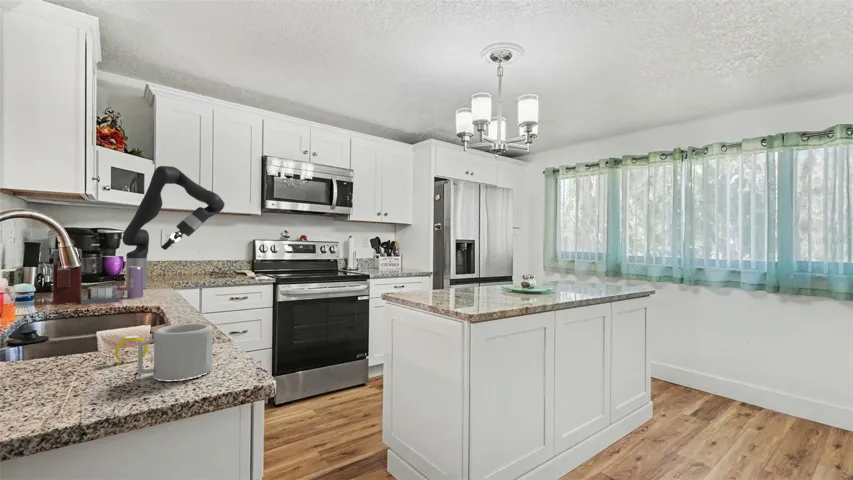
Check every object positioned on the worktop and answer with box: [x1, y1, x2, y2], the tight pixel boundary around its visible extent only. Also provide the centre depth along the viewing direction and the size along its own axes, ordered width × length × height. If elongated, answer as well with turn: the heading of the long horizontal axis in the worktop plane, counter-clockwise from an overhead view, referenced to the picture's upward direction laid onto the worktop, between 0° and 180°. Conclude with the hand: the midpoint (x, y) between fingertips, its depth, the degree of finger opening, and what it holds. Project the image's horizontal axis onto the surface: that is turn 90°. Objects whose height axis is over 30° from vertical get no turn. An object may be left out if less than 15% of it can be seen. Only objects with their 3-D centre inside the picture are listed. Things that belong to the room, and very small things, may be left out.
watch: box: [114, 335, 148, 362], centre depth 92 cm, size 6×3×6 cm, turn 139°
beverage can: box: [126, 266, 144, 300], centre depth 187 cm, size 6×6×15 cm
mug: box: [137, 322, 214, 380], centre depth 83 cm, size 14×11×10 cm
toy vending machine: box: [52, 238, 83, 305], centre depth 172 cm, size 9×11×28 cm
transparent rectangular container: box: [80, 285, 122, 305], centre depth 179 cm, size 18×13×6 cm
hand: (163, 248), depth 193 cm, fingers open, 8 cm apart
